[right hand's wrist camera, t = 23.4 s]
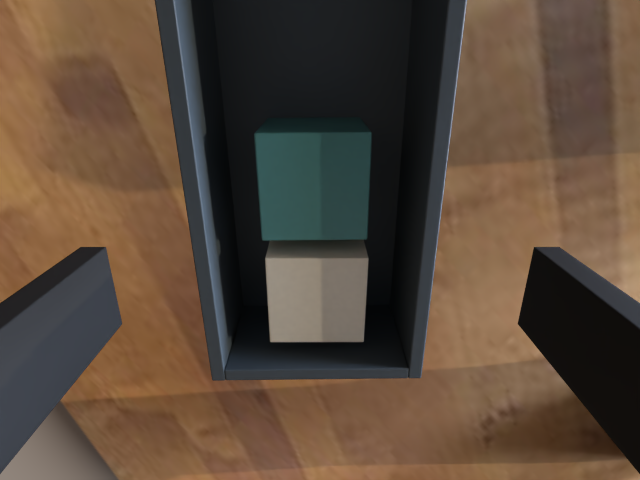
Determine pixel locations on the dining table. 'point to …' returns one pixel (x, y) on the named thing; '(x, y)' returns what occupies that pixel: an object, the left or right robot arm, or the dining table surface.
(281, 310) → the cream block
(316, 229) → the teal block
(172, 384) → the dining table surface
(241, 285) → the trough
